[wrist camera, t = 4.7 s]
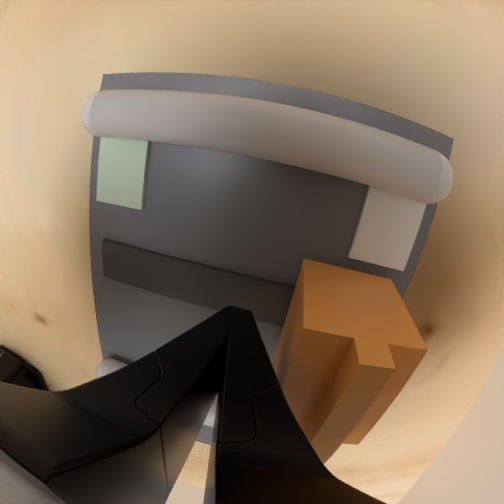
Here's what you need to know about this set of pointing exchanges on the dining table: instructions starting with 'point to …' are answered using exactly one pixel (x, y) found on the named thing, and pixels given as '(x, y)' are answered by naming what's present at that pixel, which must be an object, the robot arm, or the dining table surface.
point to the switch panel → (243, 201)
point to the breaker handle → (344, 353)
